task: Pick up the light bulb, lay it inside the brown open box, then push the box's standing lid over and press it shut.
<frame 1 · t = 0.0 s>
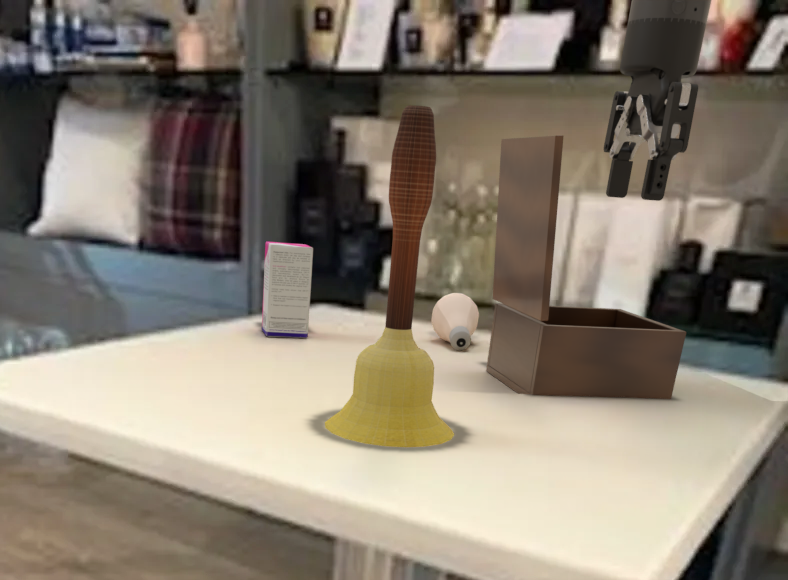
hand: (632, 198, 94), 20 cm above the table, tool pointing down, fingers open, 8 cm apart
supplement box: (284, 335, 119), on the table
handbell: (388, 440, 75), on the table
brown open box: (572, 387, 99), on the table
light bulb: (453, 345, 120), on the table
lid: (523, 226, 90), point 16 cm above the table, hinge at 95.0°
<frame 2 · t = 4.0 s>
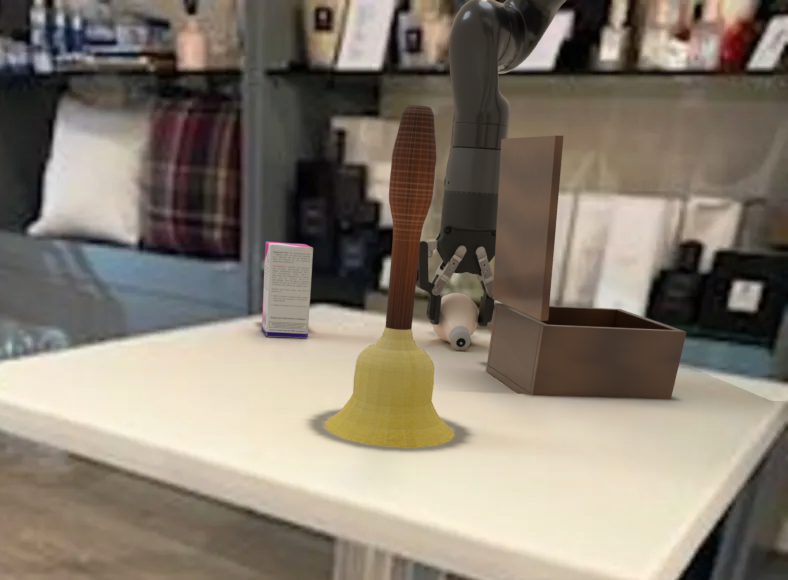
hand: (458, 324, 119), 3 cm above the table, tool pointing down, fingers closed on light bulb, 6 cm apart
light bulb: (453, 345, 120), on the table, touching gripper
everything else where it was.
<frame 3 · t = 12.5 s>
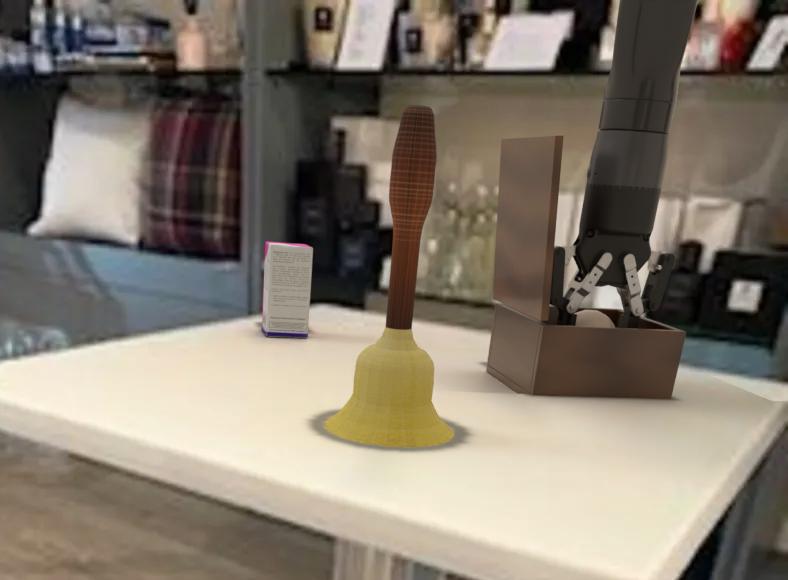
hand: (593, 348, 97), 4 cm above the table, tool pointing down, fingers closed on light bulb, 6 cm apart
light bulb: (584, 374, 99), point 2 cm above the table, touching gripper
everything else where it was.
when the fingers open (5 cm above the table, at t = 16.5 s): light bulb drops 1 cm, resting on brown open box.
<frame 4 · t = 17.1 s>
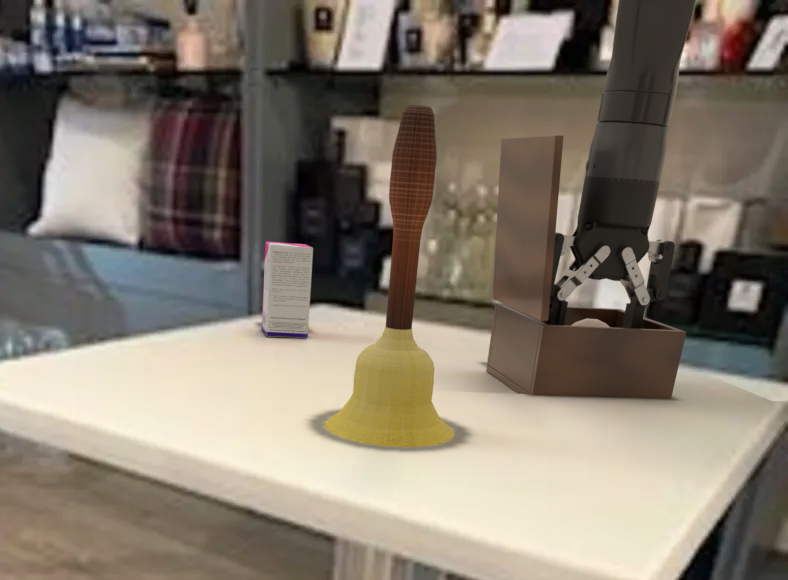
hand: (591, 337, 97), 6 cm above the table, tool pointing down, fingers open, 8 cm apart
light bulb: (585, 382, 99), point 1 cm above the table, touching brown open box
everything else where it was.
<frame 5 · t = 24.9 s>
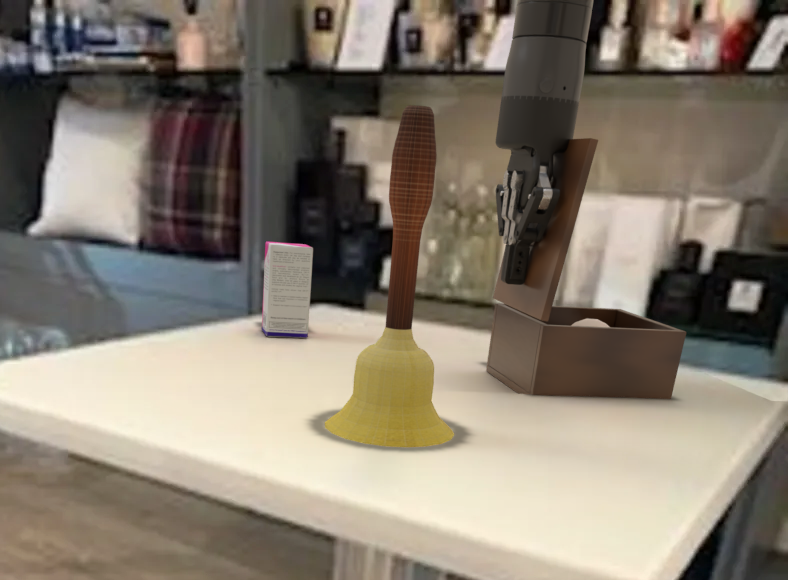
hand: (512, 283, 93), 11 cm above the table, tool pointing down, fingers closed
lid: (539, 228, 91), point 16 cm above the table, hinge at 82.9°, touching gripper
everything else where it was.
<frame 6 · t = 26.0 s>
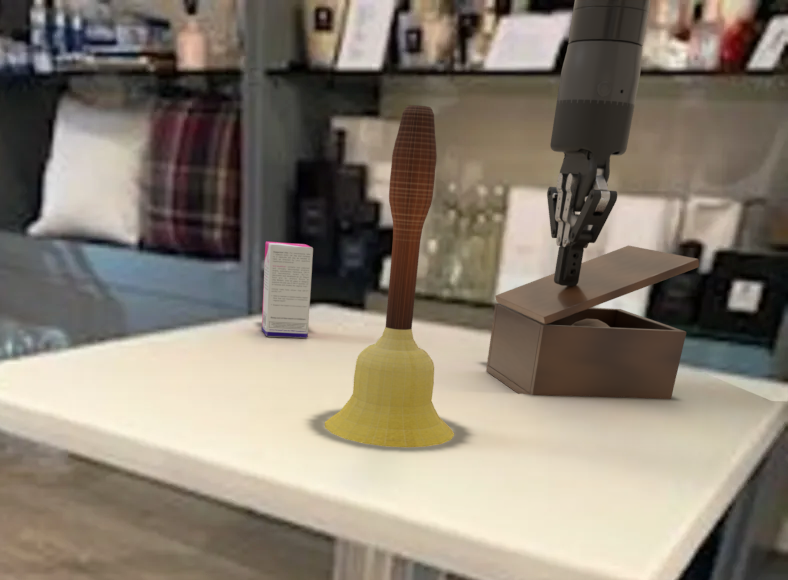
hand: (565, 284, 94), 11 cm above the table, tool pointing down, fingers closed
lid: (589, 282, 94), point 11 cm above the table, hinge at 22.2°
everything else where it was.
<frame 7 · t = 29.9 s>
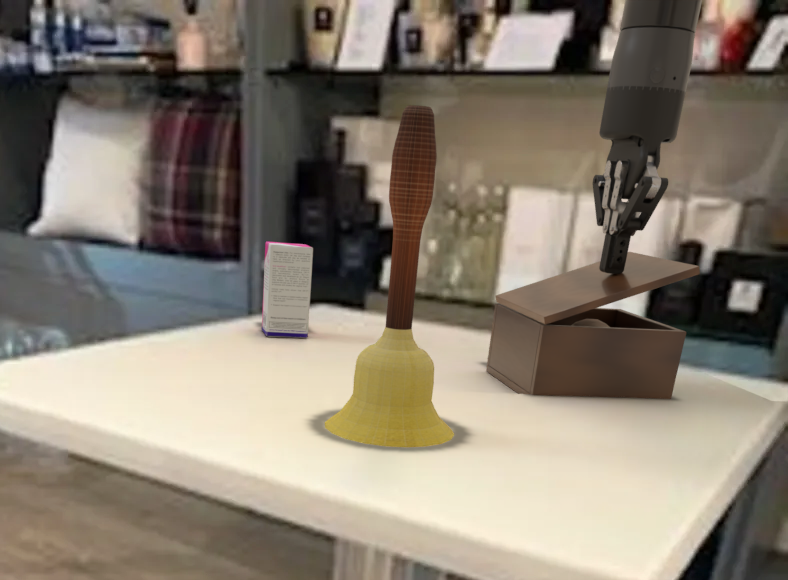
hand: (610, 272, 94), 12 cm above the table, tool pointing down, fingers closed
lid: (590, 285, 94), point 11 cm above the table, hinge at 19.7°, touching gripper
everything else where it was.
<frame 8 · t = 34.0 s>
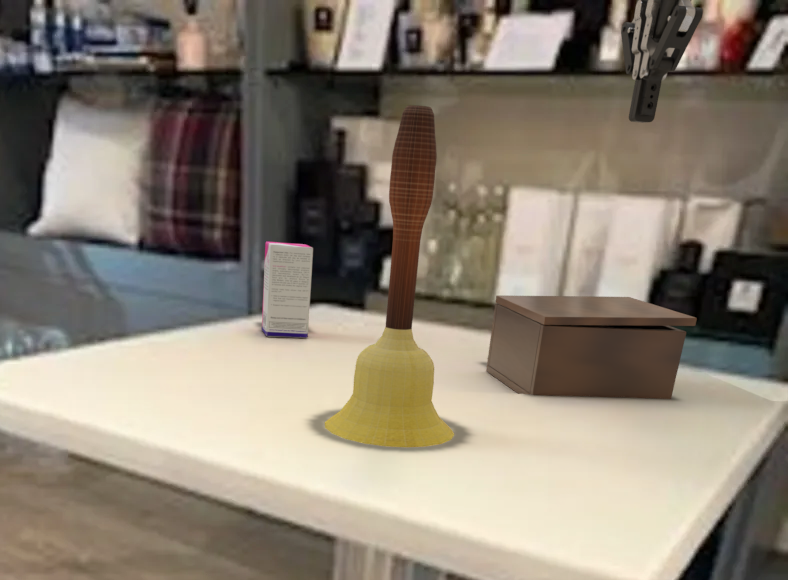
hand: (640, 121, 91), 27 cm above the table, tool pointing down, fingers closed
lid: (590, 309, 95), point 9 cm above the table, hinge at 2.0°
everything else where it was.
at the end: light bulb inside the target area in the brown open box (1.5 cm from its centre), point 0.6 cm above the brown open box's base; lid at +2° (first picture: +95°) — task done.
